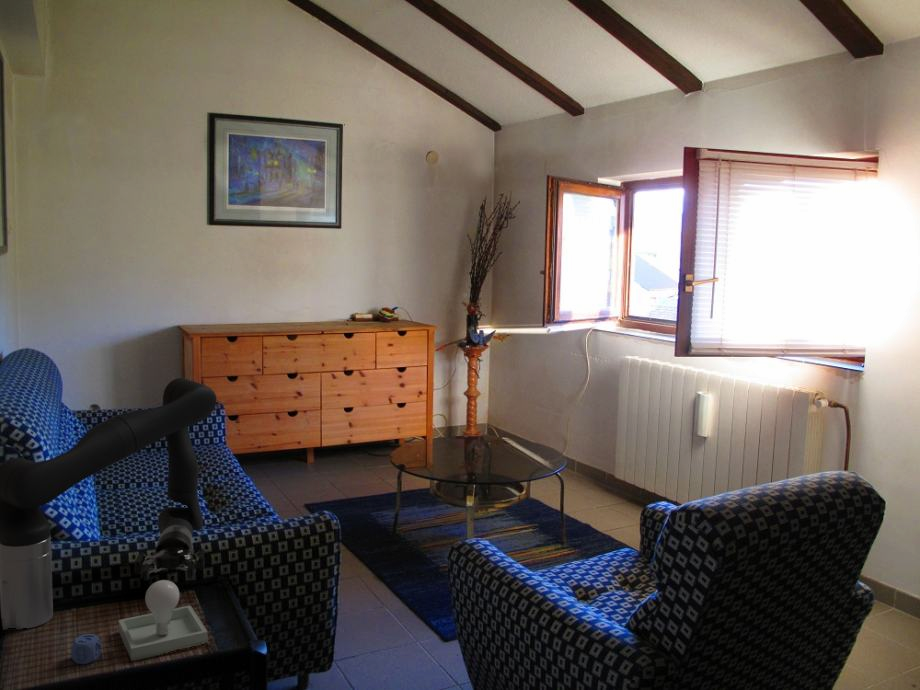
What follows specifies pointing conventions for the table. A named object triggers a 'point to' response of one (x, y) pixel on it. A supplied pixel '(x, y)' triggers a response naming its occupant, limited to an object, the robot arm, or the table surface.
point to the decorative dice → (86, 649)
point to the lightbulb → (162, 603)
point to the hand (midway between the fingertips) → (167, 575)
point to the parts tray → (148, 643)
